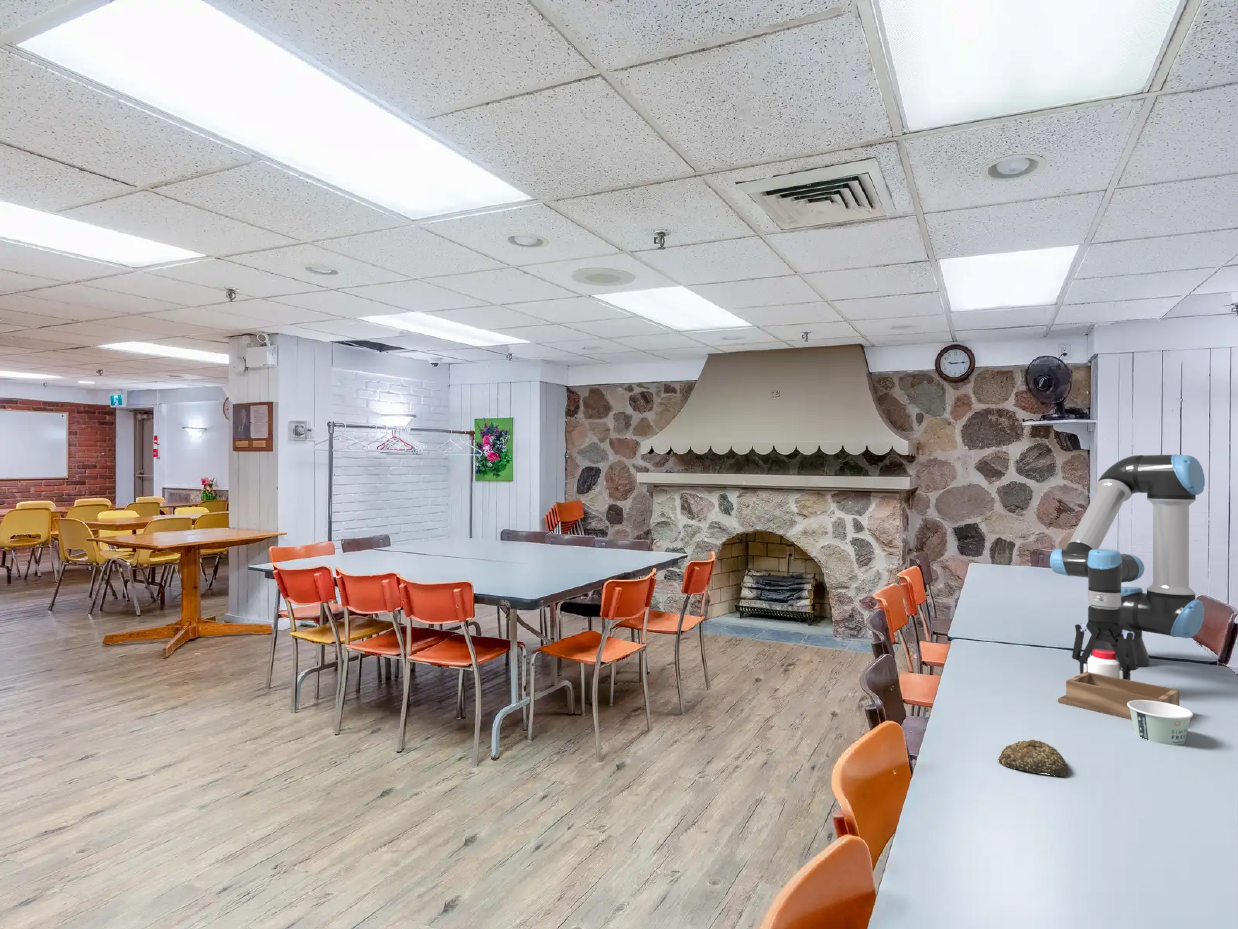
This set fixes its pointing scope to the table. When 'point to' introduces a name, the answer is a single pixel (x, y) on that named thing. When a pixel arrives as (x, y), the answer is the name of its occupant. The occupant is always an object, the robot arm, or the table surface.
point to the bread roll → (1034, 758)
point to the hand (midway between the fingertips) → (1104, 690)
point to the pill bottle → (1104, 663)
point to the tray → (1112, 693)
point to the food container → (1160, 721)
